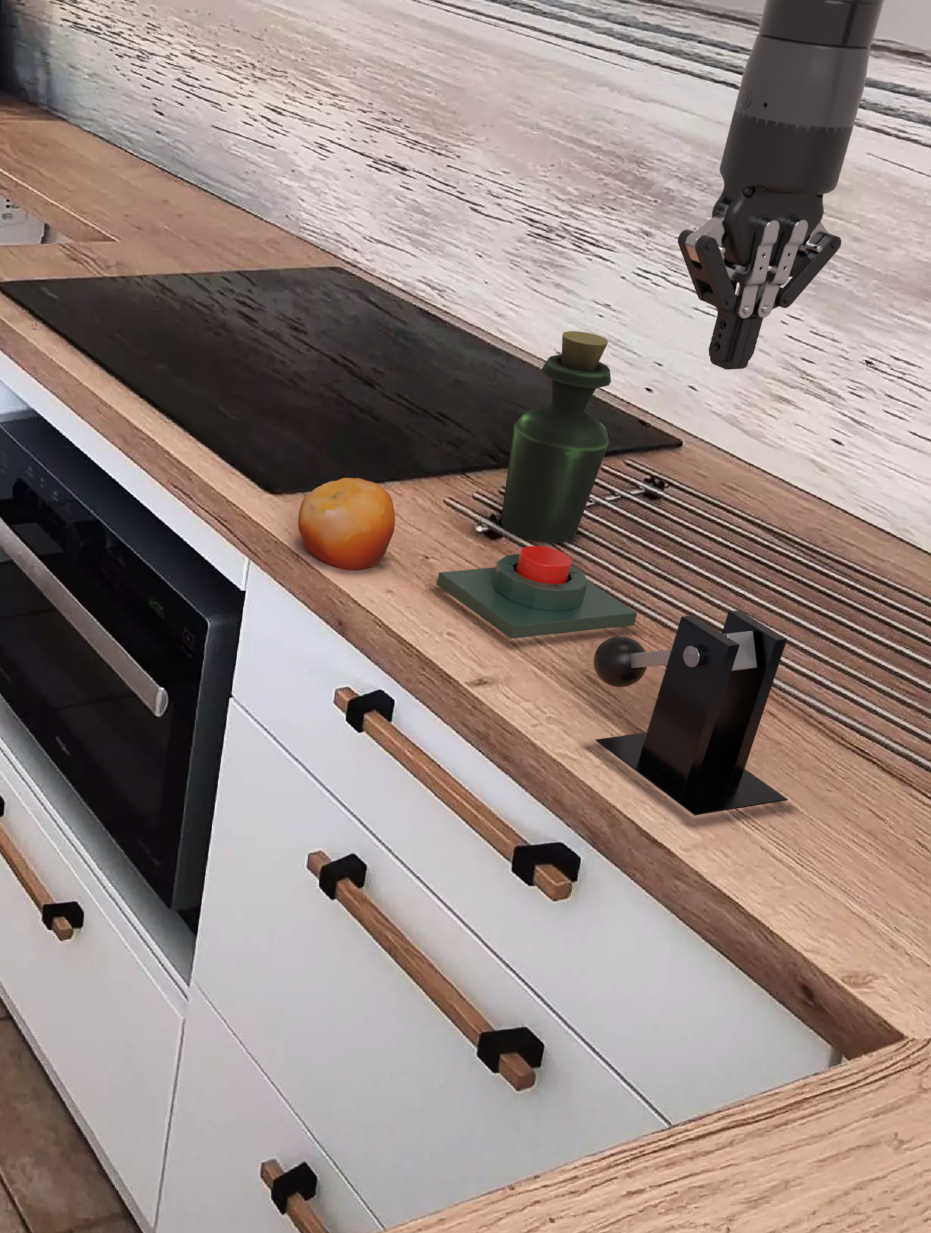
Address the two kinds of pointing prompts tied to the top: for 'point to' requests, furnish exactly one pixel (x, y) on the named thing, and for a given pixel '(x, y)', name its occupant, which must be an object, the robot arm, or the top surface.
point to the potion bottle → (558, 447)
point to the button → (544, 565)
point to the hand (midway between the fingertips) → (727, 365)
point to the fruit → (347, 523)
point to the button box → (534, 601)
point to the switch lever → (653, 658)
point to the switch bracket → (707, 718)
